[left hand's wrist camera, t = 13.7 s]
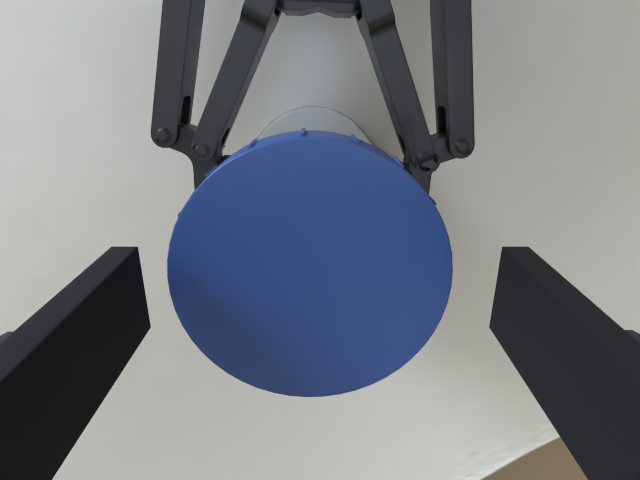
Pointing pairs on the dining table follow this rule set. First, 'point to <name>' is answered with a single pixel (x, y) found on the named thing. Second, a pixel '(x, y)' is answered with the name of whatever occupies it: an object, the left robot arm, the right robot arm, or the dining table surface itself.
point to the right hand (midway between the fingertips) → (309, 276)
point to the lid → (309, 264)
